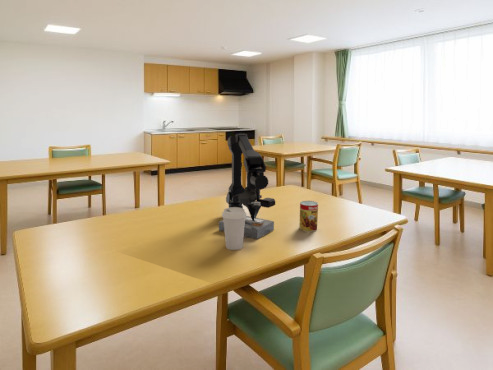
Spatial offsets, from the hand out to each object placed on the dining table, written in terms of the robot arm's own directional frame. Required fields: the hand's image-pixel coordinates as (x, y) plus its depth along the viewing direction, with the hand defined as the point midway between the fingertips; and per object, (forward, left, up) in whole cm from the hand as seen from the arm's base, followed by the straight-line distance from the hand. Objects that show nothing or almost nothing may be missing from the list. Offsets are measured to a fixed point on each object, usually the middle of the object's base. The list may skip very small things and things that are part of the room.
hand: (253, 219), depth 160 cm
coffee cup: (+3, -19, -6) cm, 20 cm away
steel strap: (-4, 0, -1) cm, 4 cm away
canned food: (+18, +17, -6) cm, 26 cm away
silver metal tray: (-4, 0, -6) cm, 7 cm away
